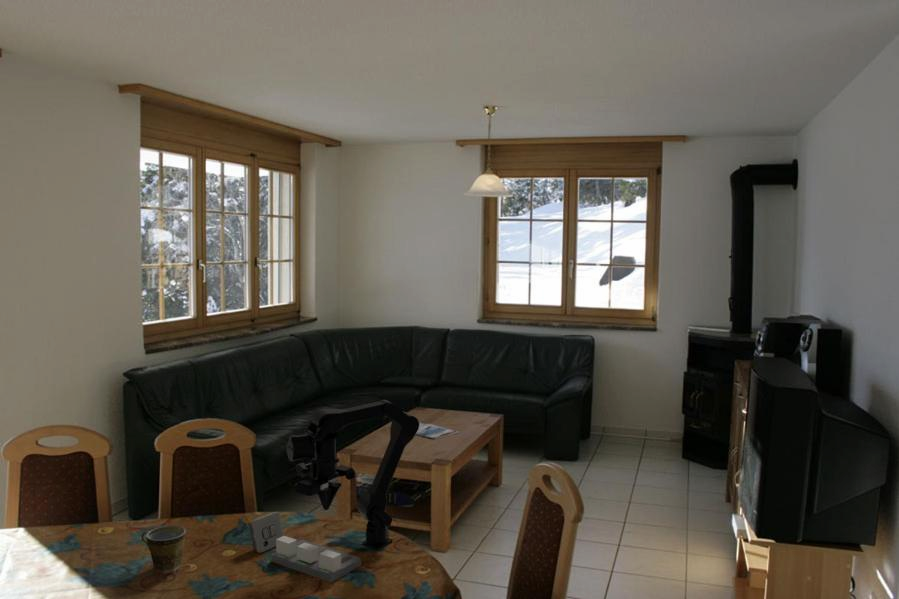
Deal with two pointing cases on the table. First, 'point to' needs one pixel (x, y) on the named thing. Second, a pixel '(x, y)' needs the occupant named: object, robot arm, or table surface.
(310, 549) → the handle
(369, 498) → the robot arm
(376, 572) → the table surface
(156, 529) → the ceramic cup
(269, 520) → the electrical switch
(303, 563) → the breaker panel
